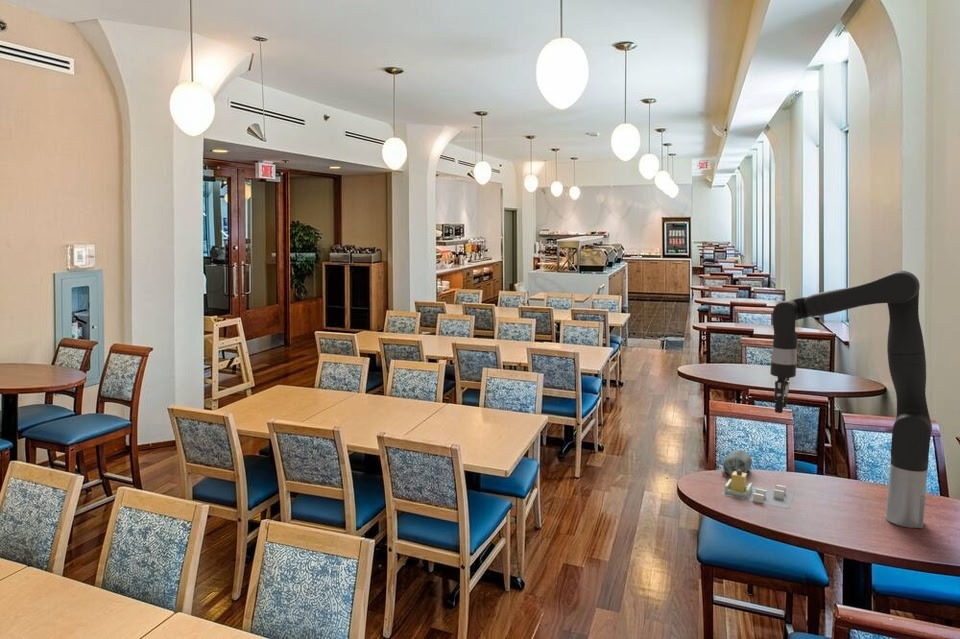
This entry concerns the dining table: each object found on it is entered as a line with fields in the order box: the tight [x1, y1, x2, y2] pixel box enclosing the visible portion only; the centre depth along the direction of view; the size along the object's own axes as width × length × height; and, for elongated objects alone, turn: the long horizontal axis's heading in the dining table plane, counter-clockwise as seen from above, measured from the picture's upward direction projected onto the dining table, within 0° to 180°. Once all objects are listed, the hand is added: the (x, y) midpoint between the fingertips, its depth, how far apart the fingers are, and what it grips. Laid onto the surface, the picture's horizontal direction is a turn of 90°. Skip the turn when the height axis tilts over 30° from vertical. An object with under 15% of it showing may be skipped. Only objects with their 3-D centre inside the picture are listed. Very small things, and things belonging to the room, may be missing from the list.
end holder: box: [724, 478, 753, 497], centre depth 211 cm, size 7×7×2 cm
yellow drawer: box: [730, 470, 748, 493], centre depth 211 cm, size 4×4×7 cm
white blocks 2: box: [773, 484, 787, 499], centre depth 208 cm, size 3×6×2 cm, turn 148°
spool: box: [722, 449, 753, 477], centre depth 229 cm, size 14×10×10 cm
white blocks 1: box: [752, 488, 766, 504], centre depth 205 cm, size 3×6×2 cm, turn 148°
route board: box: [721, 483, 795, 510], centre depth 209 cm, size 20×14×1 cm
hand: (780, 409), depth 210 cm, fingers open, 8 cm apart
